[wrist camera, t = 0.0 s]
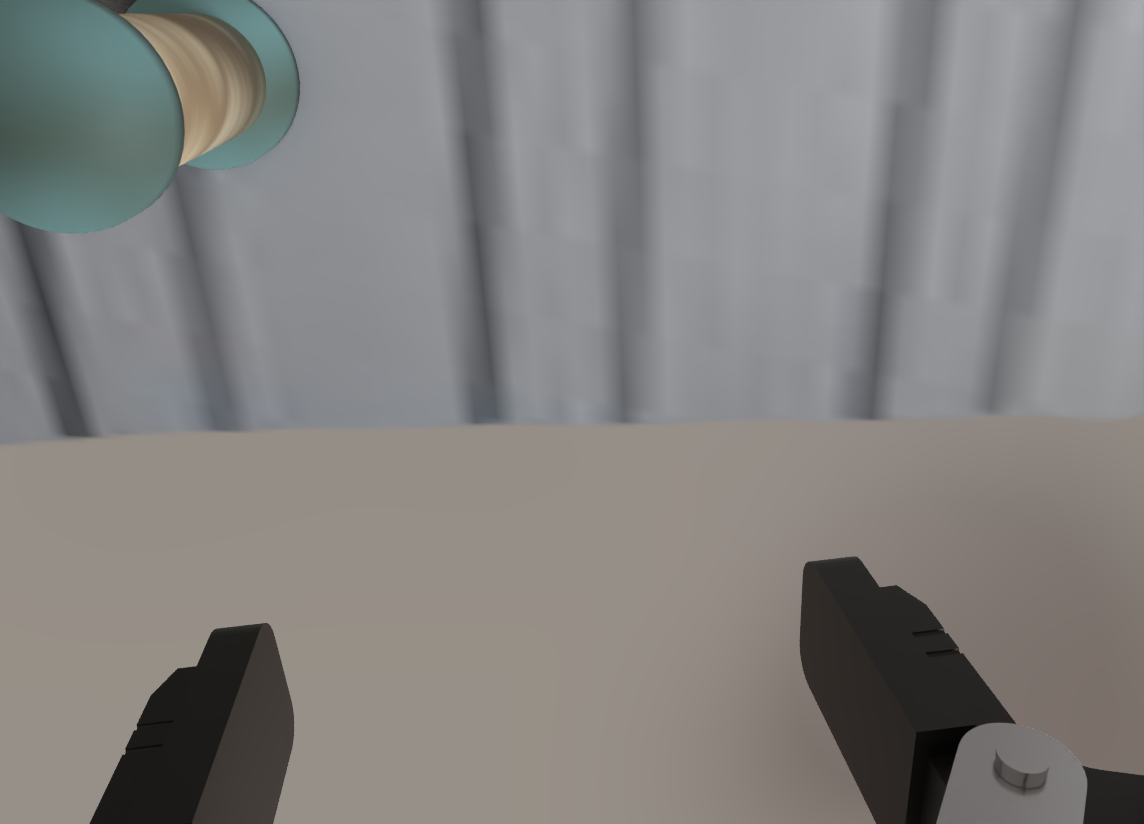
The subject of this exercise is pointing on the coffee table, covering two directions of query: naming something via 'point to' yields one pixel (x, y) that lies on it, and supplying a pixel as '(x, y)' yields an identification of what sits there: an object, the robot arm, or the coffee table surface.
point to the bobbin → (132, 102)
